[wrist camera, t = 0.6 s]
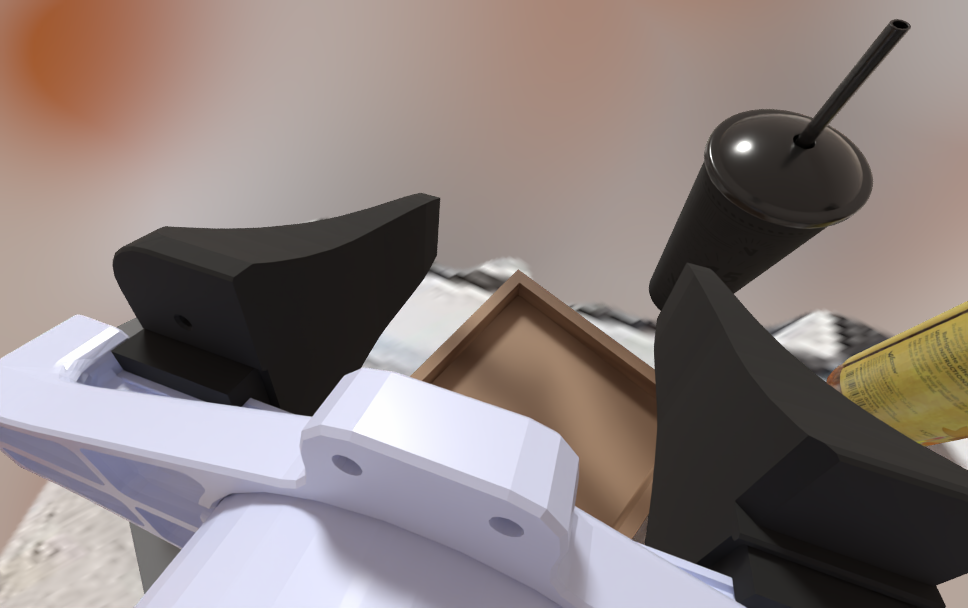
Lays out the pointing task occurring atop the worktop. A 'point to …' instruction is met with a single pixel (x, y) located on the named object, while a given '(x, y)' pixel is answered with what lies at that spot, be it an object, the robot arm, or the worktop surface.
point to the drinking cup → (771, 186)
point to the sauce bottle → (915, 379)
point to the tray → (561, 391)
